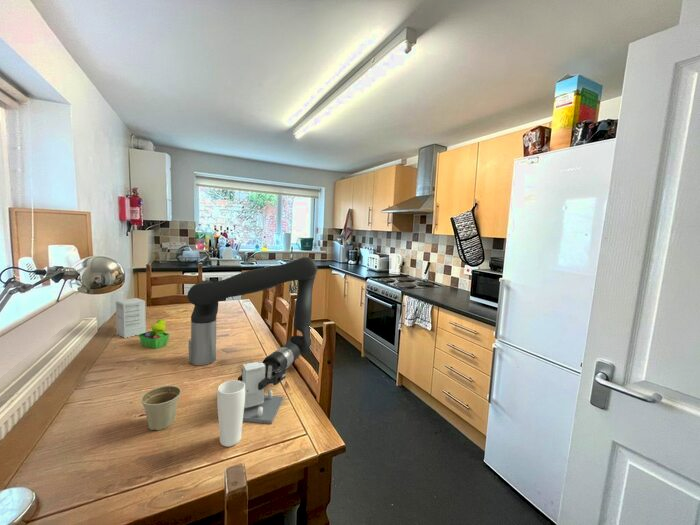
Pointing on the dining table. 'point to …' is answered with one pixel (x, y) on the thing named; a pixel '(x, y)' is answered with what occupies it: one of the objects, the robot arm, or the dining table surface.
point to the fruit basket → (155, 336)
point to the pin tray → (264, 409)
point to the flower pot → (161, 406)
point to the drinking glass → (230, 411)
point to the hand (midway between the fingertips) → (248, 384)
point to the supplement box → (130, 317)
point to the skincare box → (253, 383)
